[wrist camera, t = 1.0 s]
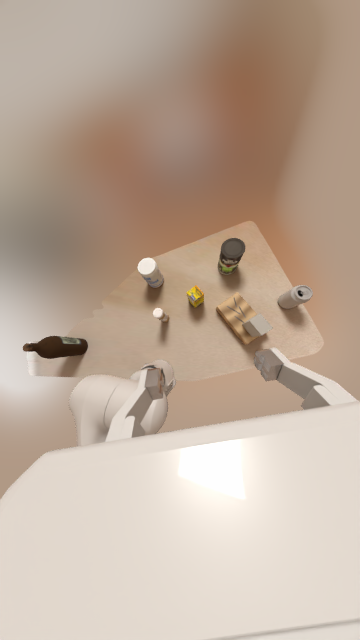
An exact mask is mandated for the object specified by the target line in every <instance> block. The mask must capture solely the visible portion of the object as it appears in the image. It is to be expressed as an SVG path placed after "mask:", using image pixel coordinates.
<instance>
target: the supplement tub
mask: <svg viewBox="0 0 360 640" xmlns="http://www.w3.org/2000/svg"><path fill="white" fill-rule="evenodd" d="M138 271H139V273H140V274H141V275H142V277H143V278H144V279H145V280H146V282H147V283H148V284H149V285H150V286H151V287H154V288H156V287H159V286H161V285H162V283H163V280H164V278H163V276H162V274H161V272H160V270H159V268H158V266H157V264H156V262H155V261H154V260H153V259H151V258H145V259H143V260H141V261H140V262H139V264H138Z"/></svg>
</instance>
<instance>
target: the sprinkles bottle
mask: <svg viewBox="0 0 360 640" xmlns="http://www.w3.org/2000/svg"><path fill="white" fill-rule="evenodd" d="M153 315H154V317H156V318H158V319H159V320H161V321H163V322H168V321H169V316H168V315H167V314H166V313H165V312H163V311H162V310H161V309H160V308H156V309H155V310H154V311H153Z"/></svg>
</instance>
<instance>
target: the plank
mask: <svg viewBox="0 0 360 640" xmlns="http://www.w3.org/2000/svg"><path fill="white" fill-rule="evenodd" d="M216 310H217V311H218V312H219V314H220V315H221V316H222V317H223V319H224V320H225V321H226V322H227V324H228V325H229V326H230V327H231V329H232V330H233V331H234V332H235V334H236V335H237V336H238V337H239V339H240V340H241V341H242V342H243V344H249V343H250V342H252V341H253V340H255V339H256V338H258V337H259V336H256V337H251V335H250V334H249V333H248V332H247V330H246V329H245V328H244V327H243V326H242V324H243V323H244V322H246V321H247V320H249V319H250V318H252V317H254V316H256V315H257V314H256V313H255V311H254V310H253V309H252V308H251V307H250V306H249V305H248V304H247V302H246V301H245V300H244V299H243V298H242V297H241V296H240V295H239V293H238V292H237V293H235V294H234V295H233V296H231V297H230V298H228V299H227V300H226V301H224V302H223V303H221V304H220V305H218V306H217V308H216Z"/></svg>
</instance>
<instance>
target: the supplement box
mask: <svg viewBox="0 0 360 640" xmlns="http://www.w3.org/2000/svg"><path fill="white" fill-rule="evenodd" d="M187 296H188V300H189V302H190V303H191V304H192V305H193V306H194V307H195V308H196V307H197V306H199V305H200V304H201V303H202V302H204V293H203V292H202V291H201V290H200V289H199V288H198V287H197V286H194V287H193V288H192V289H191V290H189V291H188V292H187Z"/></svg>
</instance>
